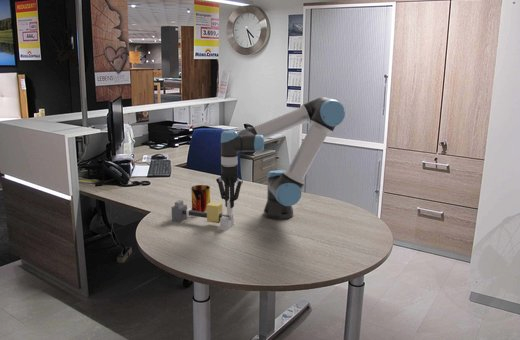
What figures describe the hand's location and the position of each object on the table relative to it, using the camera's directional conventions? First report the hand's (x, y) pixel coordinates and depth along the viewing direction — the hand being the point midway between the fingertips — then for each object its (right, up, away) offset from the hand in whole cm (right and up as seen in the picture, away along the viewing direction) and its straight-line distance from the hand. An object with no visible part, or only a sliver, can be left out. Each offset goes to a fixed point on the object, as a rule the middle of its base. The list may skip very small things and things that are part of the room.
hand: (229, 213), depth 211 cm
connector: (-26, -4, +12) cm, 28 cm away
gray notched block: (-1, -7, +2) cm, 7 cm away
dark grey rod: (-14, -3, +7) cm, 16 cm away
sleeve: (-7, -4, +4) cm, 9 cm away
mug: (-16, -1, +25) cm, 30 cm away
